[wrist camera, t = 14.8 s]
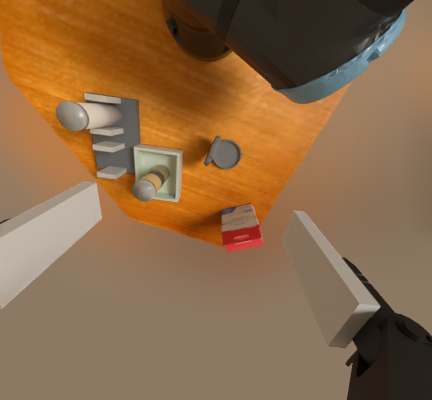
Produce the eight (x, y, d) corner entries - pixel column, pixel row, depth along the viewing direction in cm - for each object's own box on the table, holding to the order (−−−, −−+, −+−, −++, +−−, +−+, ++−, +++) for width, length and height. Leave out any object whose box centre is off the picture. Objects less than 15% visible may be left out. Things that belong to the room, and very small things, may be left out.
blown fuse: (153, 162, 44) (131, 179, 33) (170, 165, 44) (154, 183, 33) (153, 179, 46) (132, 199, 35) (169, 181, 46) (154, 203, 35)
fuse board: (90, 92, 38) (66, 89, 32) (138, 100, 39) (123, 98, 33) (101, 166, 45) (83, 175, 40) (141, 172, 46) (129, 181, 40)
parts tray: (140, 143, 43) (133, 146, 39) (183, 149, 43) (180, 153, 40) (142, 190, 48) (136, 196, 45) (180, 196, 48) (177, 202, 45)
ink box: (225, 224, 52) (226, 263, 39) (221, 209, 50) (220, 245, 36) (255, 217, 50) (267, 255, 37) (252, 202, 48) (263, 236, 35)
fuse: (101, 102, 38) (52, 99, 27) (121, 105, 38) (81, 103, 27) (104, 123, 40) (59, 129, 29) (123, 126, 40) (86, 132, 29)
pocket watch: (241, 166, 44) (247, 180, 35) (207, 170, 45) (203, 185, 36) (239, 130, 41) (243, 135, 32) (201, 135, 41) (196, 142, 32)
